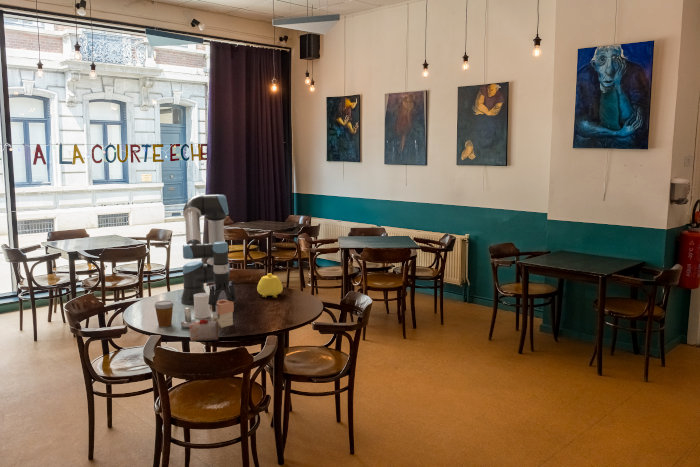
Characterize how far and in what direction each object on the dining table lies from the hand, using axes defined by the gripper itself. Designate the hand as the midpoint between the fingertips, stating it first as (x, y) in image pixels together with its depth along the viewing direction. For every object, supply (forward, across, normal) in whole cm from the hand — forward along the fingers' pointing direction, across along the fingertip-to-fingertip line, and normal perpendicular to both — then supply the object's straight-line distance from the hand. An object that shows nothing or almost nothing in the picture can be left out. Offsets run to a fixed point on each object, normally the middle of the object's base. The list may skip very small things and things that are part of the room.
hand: (222, 315), depth 310 cm
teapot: (+5, +58, +30) cm, 65 cm away
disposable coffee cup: (+5, -20, +22) cm, 30 cm away
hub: (+5, -14, +10) cm, 18 cm away
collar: (-2, 0, 0) cm, 2 cm away
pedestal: (+5, 0, 0) cm, 5 cm away
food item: (+5, -20, -12) cm, 24 cm away
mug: (+5, +3, +23) cm, 24 cm away
